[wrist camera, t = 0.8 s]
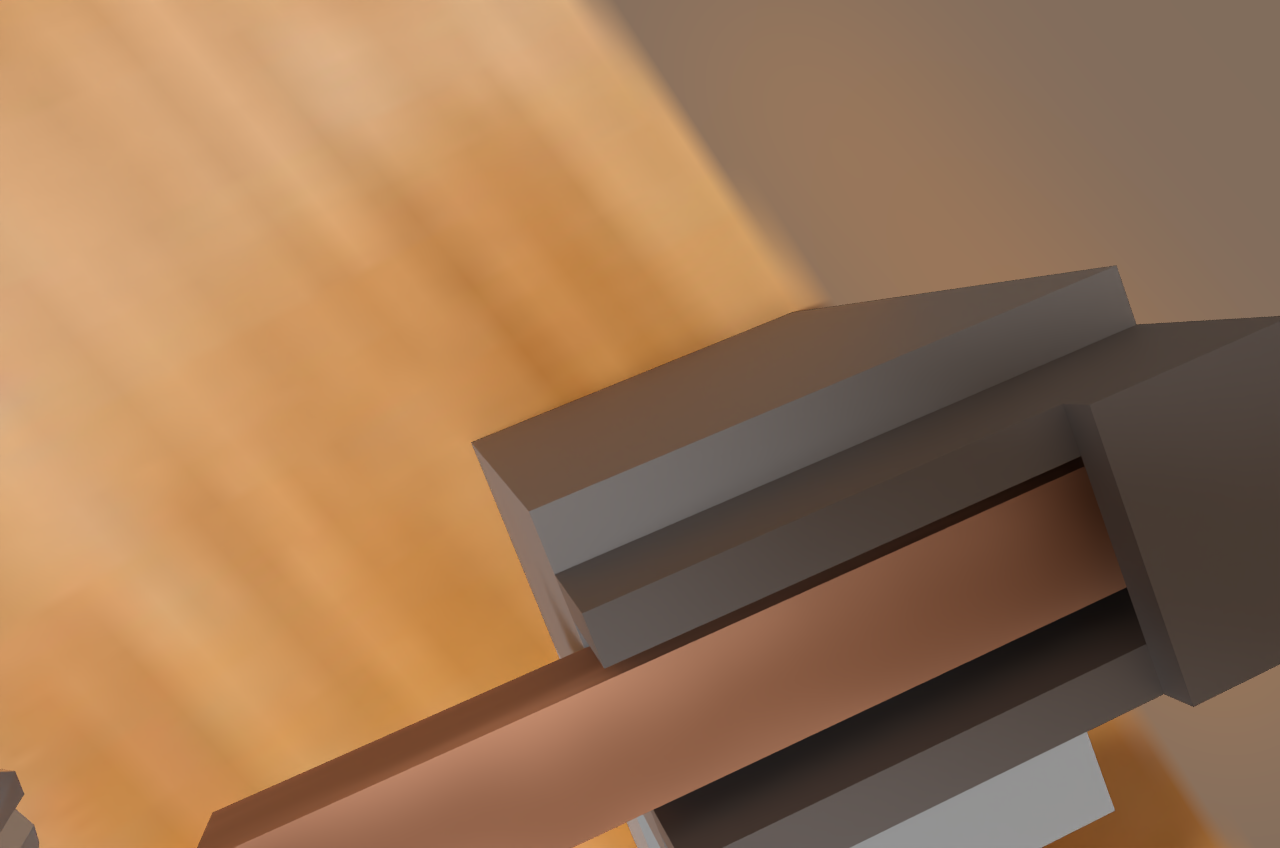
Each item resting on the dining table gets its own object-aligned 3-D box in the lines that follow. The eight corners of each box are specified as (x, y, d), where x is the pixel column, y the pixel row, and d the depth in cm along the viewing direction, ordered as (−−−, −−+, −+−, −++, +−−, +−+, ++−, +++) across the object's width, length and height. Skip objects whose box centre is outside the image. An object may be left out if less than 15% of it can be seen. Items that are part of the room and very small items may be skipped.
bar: (212, 812, 27) (188, 867, 24) (1126, 408, 30) (1203, 413, 27) (266, 930, 27) (248, 999, 24) (1163, 516, 31) (1243, 532, 28)
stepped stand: (471, 442, 53) (558, 546, 22) (792, 312, 56) (1270, 243, 25) (634, 840, 55) (918, 1436, 25) (935, 698, 58) (1537, 1075, 27)
